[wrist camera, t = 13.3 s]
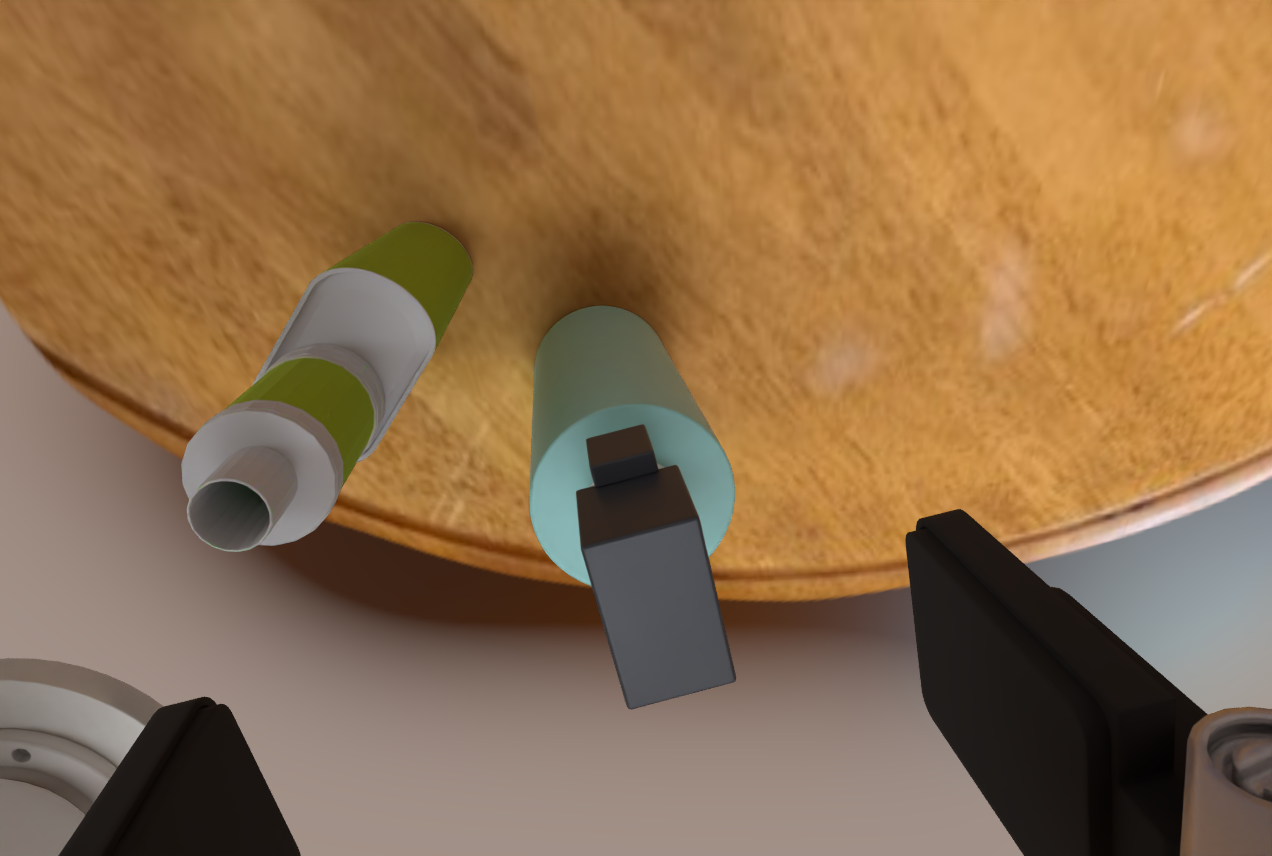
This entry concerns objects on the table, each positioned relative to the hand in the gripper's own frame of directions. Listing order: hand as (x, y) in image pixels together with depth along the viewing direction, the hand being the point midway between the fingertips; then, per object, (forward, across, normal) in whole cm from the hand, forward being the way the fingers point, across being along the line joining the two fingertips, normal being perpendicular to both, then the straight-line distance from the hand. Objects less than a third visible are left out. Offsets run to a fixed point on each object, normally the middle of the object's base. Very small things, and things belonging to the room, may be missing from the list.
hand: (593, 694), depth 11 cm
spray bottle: (+26, -1, +3) cm, 26 cm away
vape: (+26, +6, -2) cm, 27 cm away
